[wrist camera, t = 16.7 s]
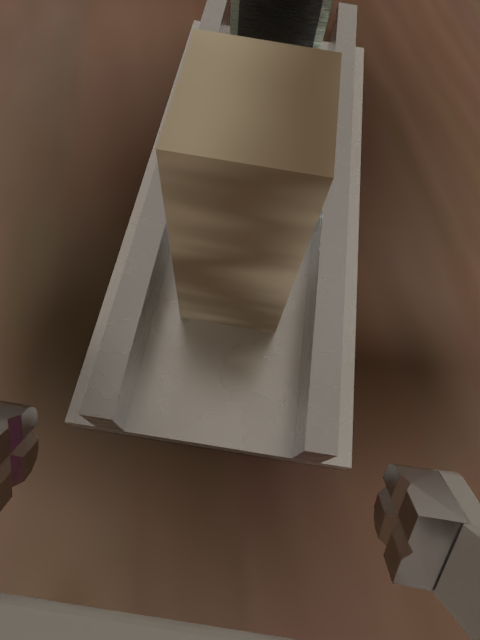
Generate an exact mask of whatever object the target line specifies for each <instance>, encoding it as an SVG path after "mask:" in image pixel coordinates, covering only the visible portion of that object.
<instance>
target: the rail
mask: <svg viewBox="0 0 480 640" xmlns="http://www.w3.org/2000/svg"><path fill="white" fill-rule="evenodd" d="M332 1H333V0H207V2H206V6H205V9H204V12H203V15H202V18H201V21H196V20H194V22H193V25H192V28H191V31H190V35H189V38H188V41H187V44H186V47H185V50H184V53H183V56H182V59H181V62H180V66H179V69H178V72H177V75H176V78H175V81H174V84H173V87H172V90H171V93H170V97H169V100H168V103H167V106H166V109H165V112H164V115H163V118H162V121H161V124H160V128H159V131H158V134H157V137H156V140H155V143H154V146H153V149H152V152H151V155H150V159H149V162H148V165H147V168H146V171H145V174H144V177H143V180H142V183H141V186H140V190H139V193H138V196H137V199H136V202H135V205H134V208H133V211H132V214H131V217H130V221H129V224H128V227H127V230H126V233H125V236H124V239H123V242H122V245H121V248H120V252H119V255H118V258H117V261H116V264H115V267H114V270H113V273H112V276H111V279H110V283H109V286H108V289H107V292H106V295H105V298H104V301H103V304H102V307H101V310H100V313H99V317H98V320H97V323H96V326H95V329H94V332H93V335H92V338H91V341H90V344H89V348H88V351H87V354H86V357H85V360H84V363H83V366H82V369H81V372H80V375H79V379H78V382H77V385H76V388H75V391H74V394H73V397H72V400H71V403H70V406H69V410H68V413H67V416H66V419H65V422H66V423H67V424H69V425H71V426H74V427H80V428H86V429H93V430H99V431H105V432H111V433H117V434H124V435H130V436H136V437H142V438H148V439H155V440H161V441H167V442H173V443H179V444H185V445H192V446H198V447H204V448H210V449H216V450H223V451H229V452H235V453H241V454H247V455H254V456H260V457H266V458H272V459H278V460H285V461H291V462H297V463H303V464H309V465H316V466H322V467H328V468H334V469H340V470H347V469H350V468H352V436H353V402H354V369H355V335H356V302H357V268H358V234H359V201H360V167H361V134H362V100H363V67H364V48H361V47H356V25H357V5H352V4H346V3H340V2H339V4H338V8H337V12H336V16H335V20H334V24H333V27H332V31H331V35H330V39H329V42H324V41H323V38H324V34H325V30H326V26H327V22H328V17H329V13H330V9H331V5H332ZM230 5H231V14H230ZM194 29H200V30H206V31H212V32H218V33H224V34H230V35H237V36H243V37H249V38H255V39H261V40H267V41H273V42H279V43H285V44H292V45H298V46H304V47H310V48H316V49H322V50H328V51H334V52H341V53H342V59H341V74H340V90H339V105H338V121H337V136H336V151H335V167H334V179H333V181H332V184H331V187H330V189H329V192H328V195H327V197H326V200H325V202H324V205H323V208H322V210H321V213H320V216H319V218H318V221H317V224H316V226H315V229H314V232H313V234H312V237H311V239H310V242H309V245H308V247H307V250H306V253H305V255H304V258H303V261H302V263H301V266H300V268H299V271H298V274H297V276H296V279H295V282H294V284H293V287H292V290H291V292H290V295H289V298H288V300H287V303H286V305H285V308H284V311H283V313H282V316H281V319H280V321H279V324H278V327H277V329H276V332H275V333H273V332H267V331H261V330H255V329H248V328H242V327H236V326H230V325H224V324H217V323H211V322H205V321H199V320H193V319H187V318H180V312H179V305H178V298H177V292H176V285H175V278H174V271H173V264H172V257H171V251H170V244H169V237H168V230H167V223H166V216H165V210H164V203H163V196H162V189H161V182H160V175H159V169H158V162H157V155H156V146H157V143H158V140H159V137H160V134H161V130H162V127H163V124H164V121H165V118H166V115H167V112H168V108H169V105H170V102H171V99H172V96H173V93H174V90H175V86H176V83H177V80H178V77H179V74H180V71H181V67H182V64H183V61H184V58H185V55H186V52H187V49H188V45H189V42H190V39H191V36H192V33H193V30H194Z"/></svg>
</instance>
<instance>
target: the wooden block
mask: <svg viewBox="0 0 480 640" xmlns="http://www.w3.org/2000/svg"><path fill="white" fill-rule="evenodd" d="M341 59H342V53H341V52H334V51H328V50H322V49H316V48H310V47H304V46H298V45H292V44H285V43H279V42H273V41H267V40H261V39H255V38H249V37H243V36H237V35H230V34H224V33H218V32H212V31H206V30H200V29H194V30H193V33H192V36H191V39H190V42H189V45H188V49H187V52H186V55H185V58H184V61H183V64H182V67H181V71H180V74H179V77H178V80H177V83H176V86H175V90H174V93H173V96H172V99H171V102H170V105H169V108H168V112H167V115H166V118H165V121H164V124H163V127H162V130H161V134H160V137H159V140H158V143H157V146H156V155H157V162H158V169H159V175H160V182H161V189H162V196H163V203H164V210H165V216H166V223H167V230H168V237H169V244H170V251H171V257H172V264H173V271H174V278H175V285H176V292H177V298H178V305H179V312H180V318H187V319H193V320H199V321H205V322H211V323H217V324H224V325H230V326H236V327H242V328H248V329H255V330H261V331H267V332H273V333H275V332H276V329H277V327H278V324H279V321H280V319H281V316H282V313H283V311H284V308H285V305H286V303H287V300H288V298H289V295H290V292H291V290H292V287H293V284H294V282H295V279H296V276H297V274H298V271H299V268H300V266H301V263H302V261H303V258H304V255H305V253H306V250H307V247H308V245H309V242H310V239H311V237H312V234H313V232H314V229H315V226H316V224H317V221H318V218H319V216H320V213H321V210H322V208H323V205H324V202H325V200H326V197H327V195H328V192H329V189H330V187H331V184H332V181H333V179H334V167H335V151H336V136H337V121H338V105H339V90H340V74H341Z"/></svg>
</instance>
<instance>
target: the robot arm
mask: <svg viewBox="0 0 480 640" xmlns="http://www.w3.org/2000/svg"><path fill="white" fill-rule="evenodd" d="M37 423H38V417H37V410H36V409H35V408H34V407H33V406H28V405H22V404H17V403H11V402H6V401H0V511H1V510H2V509H3V508H4V506H5V505H6V504H7V502H8V501H9V500H10V499H11V497H12V487H13V486H15V485H17V484H19V483H21V482H23V481H25V479H26V478H27V476H28V475H29V474H30V472H31V471H32V468H33V466H34V464H35V461H36V459H37V453H38V438H37V437H36V436H35V434H34V433H33V432H32V429H33V428H34V427H35V426H36V425H37ZM383 479H384V481H385V484H386V488H384V489H383V490H382V491H380V492H379V493H378V495H377V498H376V502H375V506H374V523H375V529H376V532H377V536H378V538H379V539H380V540H381V541H382V542H383V543H384V544H385V545H386V549H385V552H384V558H385V561H386V565H387V568H388V571H389V574H390V577H391V580H392V583H393V584H397V585H403V586H408V587H413V588H419V589H424V590H429V591H434V593H433V594H434V595H435V596H436V597H437V598H438V600H439V601H440V602H441V603H442V604H443V606H444V607H445V608H446V609H447V610H448V612H449V613H450V614H451V615H452V616H453V617H454V619H455V620H456V621H457V622H458V623H459V625H460V626H461V627H462V628H463V629H464V631H465V632H466V633H467V634H468V635H469V636H470V638H471V639H472V640H480V503H479V501H478V500H477V498H476V497H475V495H474V494H473V492H472V491H471V489H470V488H469V486H468V485H467V483H466V482H465V480H464V478H463V477H462V476H461V475H460V474H458V473H457V472H451V471H443V470H435V469H434V470H431V469H424V468H417V467H411V466H404V465H397V464H389V466H388V467H387V468H386V471H385V474H384V477H383ZM0 640H297V639H291V638H285V637H279V636H272V635H266V634H260V633H254V632H247V631H241V630H235V629H229V628H222V627H216V626H210V625H203V624H197V623H191V622H184V621H178V620H172V619H166V618H159V617H153V616H147V615H140V614H134V613H128V612H121V611H115V610H109V609H102V608H96V607H90V606H84V605H77V604H71V603H65V602H58V601H52V600H46V599H39V598H33V597H27V596H21V595H14V594H8V593H2V592H0Z"/></svg>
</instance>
